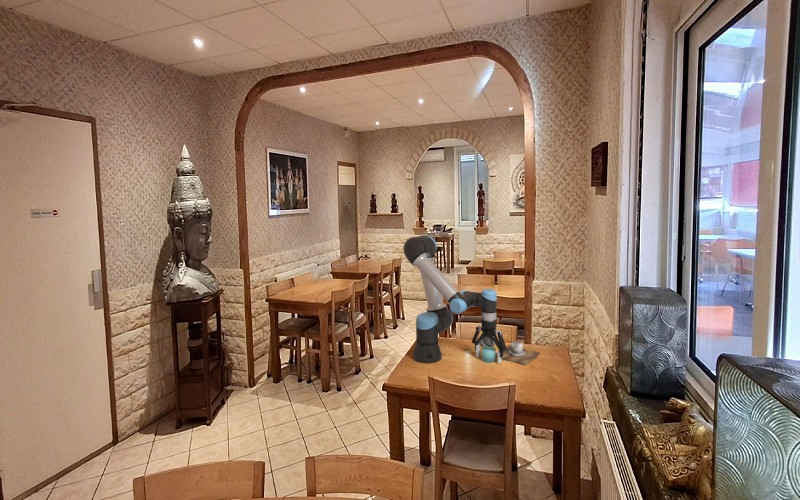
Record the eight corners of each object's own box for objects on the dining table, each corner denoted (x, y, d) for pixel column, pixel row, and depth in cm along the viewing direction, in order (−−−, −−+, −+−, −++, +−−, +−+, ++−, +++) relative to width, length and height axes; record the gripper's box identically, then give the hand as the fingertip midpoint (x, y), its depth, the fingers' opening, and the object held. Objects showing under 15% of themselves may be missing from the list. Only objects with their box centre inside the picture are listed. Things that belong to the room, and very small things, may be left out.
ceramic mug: (498, 344, 238) (498, 331, 237) (493, 349, 231) (493, 335, 230) (480, 341, 244) (480, 329, 243) (475, 346, 237) (475, 333, 236)
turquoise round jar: (478, 360, 216) (479, 348, 215) (485, 356, 222) (485, 344, 221) (491, 364, 212) (491, 351, 211) (498, 359, 217) (498, 347, 216)
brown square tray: (493, 357, 220) (493, 344, 219) (508, 347, 234) (509, 335, 233) (525, 365, 209) (525, 352, 208) (539, 354, 222) (540, 342, 221)
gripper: (464, 317, 219) (464, 356, 222) (507, 325, 203) (506, 368, 206) (472, 313, 224) (472, 352, 227) (514, 322, 209) (513, 363, 212)
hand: (488, 359), depth 217 cm, fingers open, 12 cm apart
